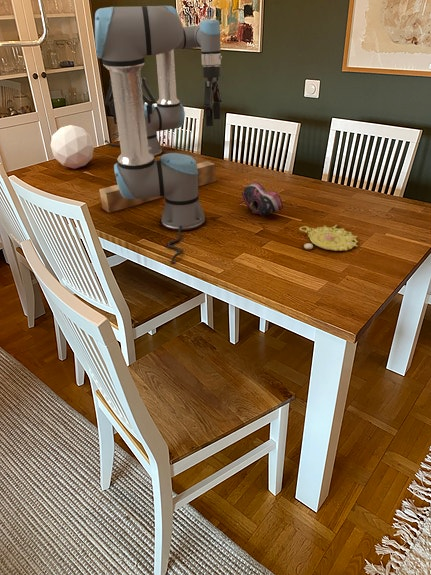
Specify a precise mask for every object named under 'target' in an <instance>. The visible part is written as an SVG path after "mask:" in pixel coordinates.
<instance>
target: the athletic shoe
mask: <svg viewBox="0 0 431 575" xmlns="http://www.w3.org/2000/svg"><path fill="white" fill-rule="evenodd" d="M241 197H242V199H243V201H238V203H239V204H241V205H245V206H246V207H247V208H248V210H249V211H250V210H251V213H252V214H255V215H260V217H266V216H267V215H270V214H274V213H275V212H279V211H282V210H283V209H284V205H283V201H282V198H281V196H280V195H279V194H278V192H277V191H274V190H269V191H267V190H266V189H265V187H264V186H263V185H262V184H261V183H258V182H251V183H249V184H247V186H246V187H245V188H244V190H243V191H242V192H241Z"/></svg>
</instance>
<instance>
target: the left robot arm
mask: <svg viewBox="0 0 431 575" xmlns="http://www.w3.org/2000/svg"><path fill="white" fill-rule="evenodd" d="M154 6H155V7H161V8H164V9H166V10H169V11H171V12H173V13H174V14H175V15H177V16H178V18H179V19H180V20H181V18H180V15H179V13H178V11H177V9H176V8H175V7H174V6H172V5H154ZM220 23H221V22H220V21H219V20H218V19H203V20H201V21H200V23H199V25H193V26H191V25H190V26H183V38H182V41H181V43H180V44H179V45H178V46H177V47H176V48H175V49H173V50H171V51H168V52H166V53H162V54H158V55H155V59H156V69H157V72H156V73H157V84H158V85H157V86H158V100H156V106H155V104H152V111H153V112H152V114H150V117H151V123H148V117H147V107H146V106H147V105H148V104H147V103H144V112H145V121H146V131H147V140H148V150H149V152H150V153H152V154H153V155H154V157H157V156H160V155H161V154H162V153H163V149H162V145H161V144H160V141H159V139H158V134H157V132H161V131H162V132H163V131H168V130H175V129H180V128H182V126H183V125H184V123H185V118H186V117H185V116H186V112H185V108H184V105H183V104H182V103H181V100H180V99H178V98H177V82H176V64H175V62H176V61H175V50H185V49H186V50H187V49H189V50H190V49H200V55H201V56H200V57H201V65H202V67H201V75H202V78H206V79H207V80H205V81H204V99H203V106H202V109H203V110H205V126H206V127H214V120H221V103H223V100H222V96H221V89H220V81H219V80H220V78H221V76H222V66H221V64H222V59H223V55H222V54H221V50H222V49H221V24H220ZM103 143H104V144H105V143H107V145H109V146H115V147H120V144H117V143H116V144H115V143H110V142H109V141H108V140H107V139H105V140H104V142H103Z"/></svg>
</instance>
